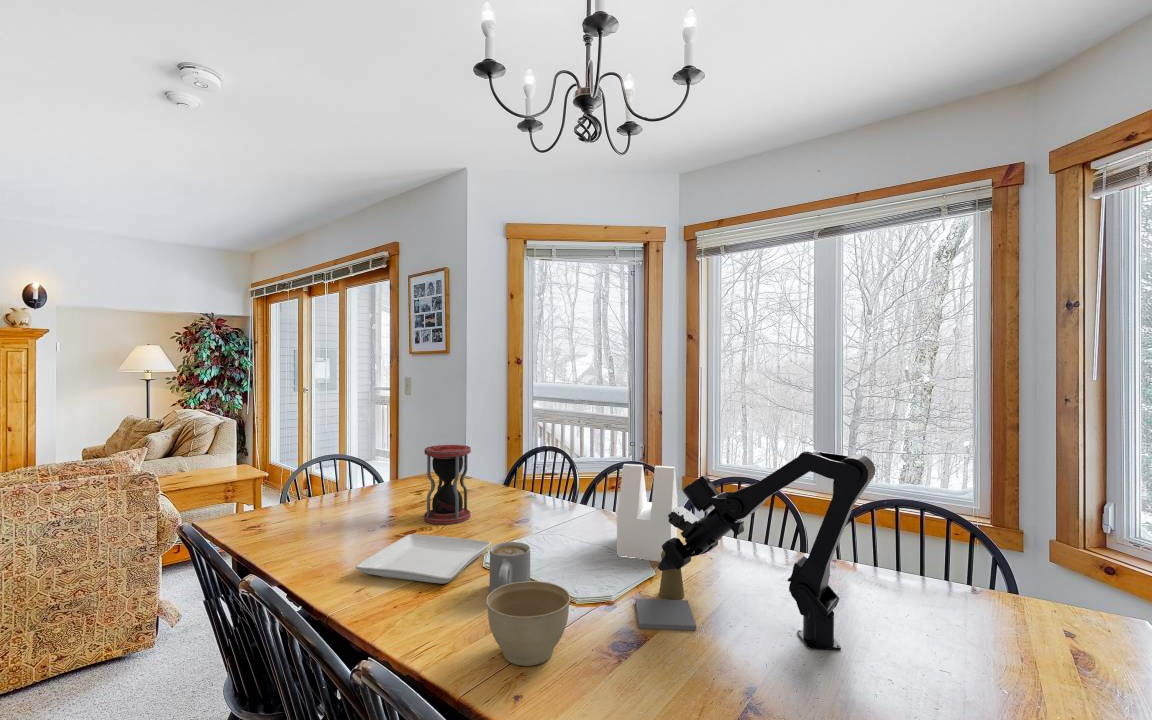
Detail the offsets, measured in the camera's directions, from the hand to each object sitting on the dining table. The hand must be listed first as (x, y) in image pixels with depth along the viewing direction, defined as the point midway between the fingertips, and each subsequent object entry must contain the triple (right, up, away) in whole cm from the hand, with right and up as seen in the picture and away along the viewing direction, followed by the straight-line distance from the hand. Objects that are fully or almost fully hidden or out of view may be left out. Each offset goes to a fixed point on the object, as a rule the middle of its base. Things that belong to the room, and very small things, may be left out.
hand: (668, 563), depth 131 cm
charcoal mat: (-3, -7, -11) cm, 14 cm away
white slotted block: (-1, -8, +32) cm, 33 cm away
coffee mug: (-39, -7, 0) cm, 40 cm away
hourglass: (-68, -7, +61) cm, 92 cm away
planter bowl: (-32, -8, -27) cm, 42 cm away
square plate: (-64, -8, +18) cm, 66 cm away
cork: (+1, -8, -1) cm, 8 cm away
